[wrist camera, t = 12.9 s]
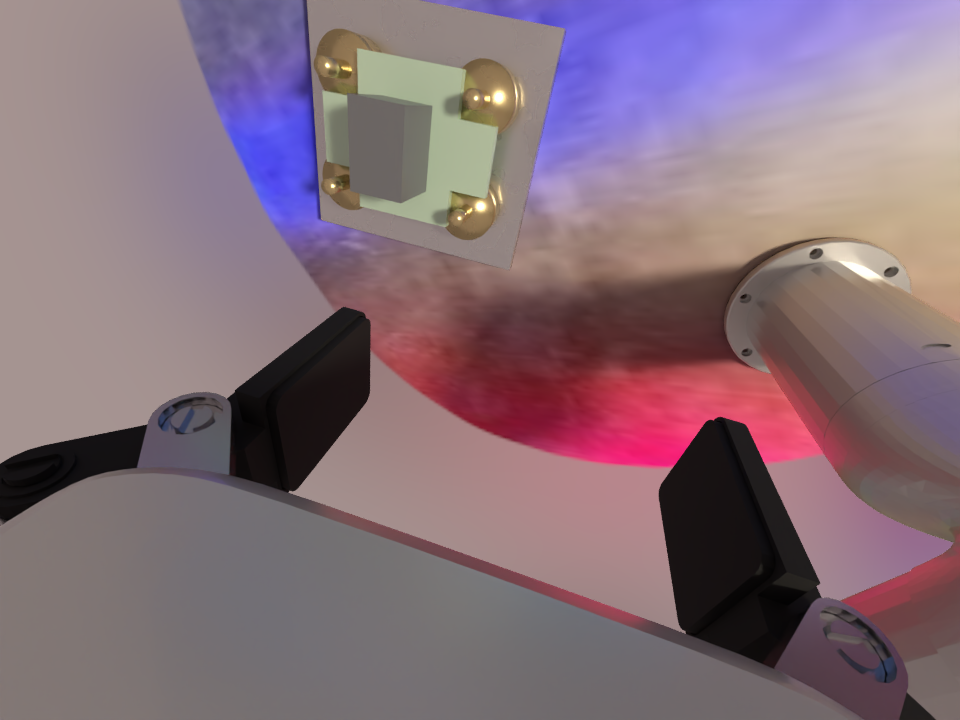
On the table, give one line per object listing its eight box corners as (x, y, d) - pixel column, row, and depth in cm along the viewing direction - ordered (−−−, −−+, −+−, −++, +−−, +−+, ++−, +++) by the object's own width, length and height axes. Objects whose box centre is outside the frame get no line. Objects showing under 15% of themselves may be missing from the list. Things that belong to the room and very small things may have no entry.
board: (506, 77, 27) (487, 71, 22) (481, 233, 33) (462, 253, 29) (325, 42, 29) (272, 29, 24) (333, 196, 35) (292, 210, 30)
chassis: (566, 31, 28) (558, 12, 22) (511, 266, 38) (497, 292, 33) (314, -18, 30) (252, -46, 24) (327, 217, 40) (285, 234, 35)
